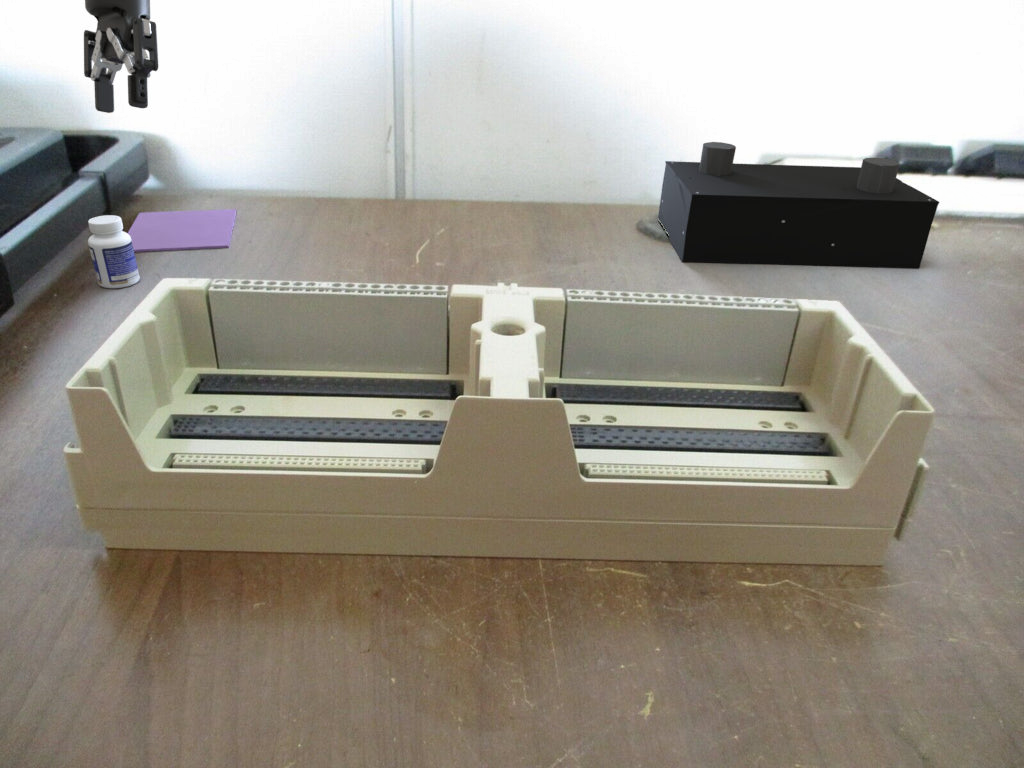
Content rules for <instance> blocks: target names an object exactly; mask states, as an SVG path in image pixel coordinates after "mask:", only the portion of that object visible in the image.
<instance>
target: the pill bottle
mask: <svg viewBox="0 0 1024 768" xmlns="http://www.w3.org/2000/svg"><path fill="white" fill-rule="evenodd" d="M87 223H88V228H89V230H90V233H92V235H90V236H89V238H88V239H87V245H88V248H89V254H90V257H91V260H92V266H93V268H94V269H93V270H94V273H95V277H96V281H97V284H98V285H99V286H100V287H101V288H104V289H122V288H127V287H131V286H133V285H135V284H138V282H140V279H141V277H140V272H139V268H138V263H137V259H136V254H135V252H134V249H133V245H132V240H131V237H130V235H129V234H127V233H128V232H126V231H123V229H124V225H123V219H122V217H121V216H118V215H114V214H113V215H111V214H110V215H109V214H106V215H99V216H95V217H92V218H89V220H88V221H87Z"/></svg>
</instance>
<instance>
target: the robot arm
mask: <svg viewBox="0 0 1024 768" xmlns="http://www.w3.org/2000/svg"><path fill="white" fill-rule="evenodd" d="M84 8H85V10H86V12H87V13H88V14H89V15H91V16H93V17H94V18H95V19H96V21H97V24H96V30H95V31H92V30H88V29H85V30H84V31H83V75H84V77H85V78H89V79H91V81H92V82H93V83H94V85H93V87H94V107H95V110H96V111H97V112H101V113H107V114H111V113H115V92H114V91H115V88H114V80H115V78H116V75H117V72H120V71H121V70H122V68H123V65H124V66H125V68H126V70H127V73H128V75H127V101H128V102H127V103H128V105H129V106H130V107H131V108H133V107H134V108H137V109H146V108H148V107H149V102H148V101H149V93H148V79H149V78H150V77H151V75H152V72H158V70H159V53H158V51H159V50H158V33H157V23H156V22H155V21H152V20H151V0H84ZM147 52H148V53H147Z"/></svg>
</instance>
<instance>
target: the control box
mask: <svg viewBox="0 0 1024 768" xmlns="http://www.w3.org/2000/svg"><path fill="white" fill-rule="evenodd" d="M701 149H702V150H701V156H700V162H698V161H673V160H672V161H670V160H665V167H664V173H663V179H662V186H661V192H660V199H659V207H658V214H657V219H658V218H659V220H660V221H661V223H662V224H663V226H664V228H665V229H666V231H667V232H668V234H669V238H670V239H669V238H668V239H669V241H670V244H671V246H672V248H673V249H674V251H675V253H676V254H677V256H678V258H679V259H680V261H681V263H708V264H709V263H713V264H746V265H747V264H749V265H751V264H753V265H757V264H758V265H787V266H788V265H789V266H822V267H825V266H826V267H849V268H850V267H852V268H854V267H855V268H885V269H887V268H889V269H920V268H921V263H922V261H923V256H924V254H925V250H926V246H927V243H928V241H929V237H930V236H929V235H930V233H931V229H932V225H933V222H934V219H935V216H936V213H937V210H938V206H939V204H940V201H939V200H937V199H935V198H933V197H932V196H930V195H928V194H926V193H925V192H922V191H921V190H919V189H916V188H915V187H913V186H912V185H909V184H907V183H906V182H903V181H902V180H901V179H899V178H897V175H898V172H899V168H900V162H899V161H897V160H894V159H889V158H883V157H865V158H863V159H862V162H861V167H860V166H829V165H827V166H825V165H798V164H797V165H795V164H764V163H763V164H761V163H736V162H735V163H734V160H735V155H736V150H737V147H736V145H734V144H733V143H727V142H720V141H708V142H704V143H703V144H702V148H701Z"/></svg>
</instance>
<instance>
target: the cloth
mask: <svg viewBox="0 0 1024 768" xmlns="http://www.w3.org/2000/svg"><path fill="white" fill-rule="evenodd" d="M236 210H237V211H238V209H237V208H227V209H225V208H224V209H204V210H203V209H200V210H198V209H197V210H175V211H174V210H173V211H171V210H170V211H146V212H145V211H143V212H138V215H137V216H136V218H135V220H134V221H133V223H132V225H131V226H130V228H129V230H128V232H126V233H127V234H129V235H130V237H131V240H132V245H133V249H134V253H143V252H165V251H168V252H169V251H186V250H187V251H188V250H208V249H209V250H210V249H229V247H230V243H231V239H232V234H233V231H232V230H234V226H235V222H236V217H237V213H236ZM235 216H236V217H235ZM234 221H235V222H234Z"/></svg>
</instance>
